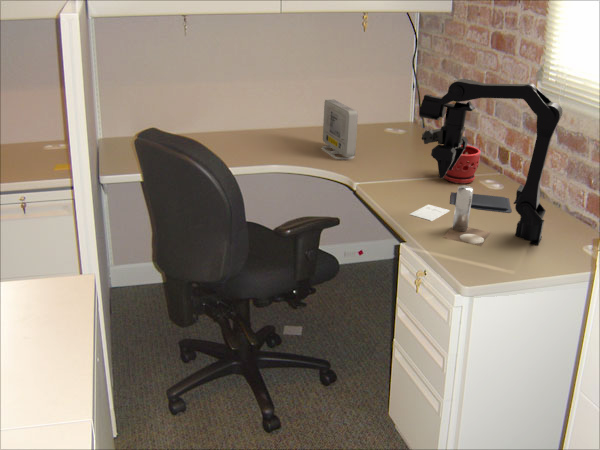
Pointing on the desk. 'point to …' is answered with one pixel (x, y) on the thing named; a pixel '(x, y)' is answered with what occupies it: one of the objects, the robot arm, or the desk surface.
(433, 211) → the external hard drive
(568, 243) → the desk surface
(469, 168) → the plant pot
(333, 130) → the network device
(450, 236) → the board
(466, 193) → the steel pin
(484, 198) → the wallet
